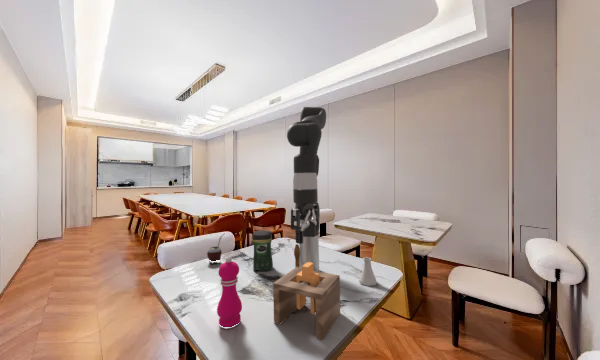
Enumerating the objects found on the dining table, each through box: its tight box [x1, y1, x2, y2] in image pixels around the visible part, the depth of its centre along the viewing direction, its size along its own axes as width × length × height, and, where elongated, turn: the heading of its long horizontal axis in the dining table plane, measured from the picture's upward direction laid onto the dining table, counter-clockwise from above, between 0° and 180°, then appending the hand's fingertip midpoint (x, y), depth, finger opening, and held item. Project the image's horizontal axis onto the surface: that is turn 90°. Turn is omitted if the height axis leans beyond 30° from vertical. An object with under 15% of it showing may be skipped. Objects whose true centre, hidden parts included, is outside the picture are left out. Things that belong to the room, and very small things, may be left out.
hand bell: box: [293, 243, 300, 269], centre depth 96 cm, size 8×8×16 cm
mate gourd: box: [206, 232, 225, 261], centre depth 122 cm, size 8×8×15 cm
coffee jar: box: [251, 230, 274, 272], centre depth 112 cm, size 10×8×19 cm
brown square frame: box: [272, 267, 341, 341], centre depth 71 cm, size 16×14×12 cm
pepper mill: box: [216, 256, 243, 327], centre depth 69 cm, size 7×7×20 cm
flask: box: [358, 256, 378, 287], centre depth 95 cm, size 7×7×10 cm
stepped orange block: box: [296, 262, 320, 315], centre depth 71 cm, size 6×4×14 cm, turn 61°
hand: (306, 239), depth 71 cm, fingers open, 8 cm apart
